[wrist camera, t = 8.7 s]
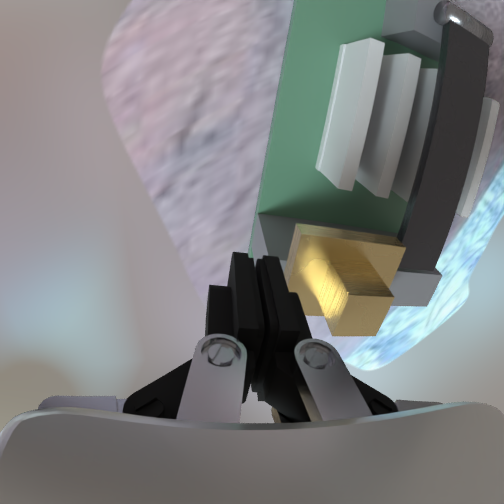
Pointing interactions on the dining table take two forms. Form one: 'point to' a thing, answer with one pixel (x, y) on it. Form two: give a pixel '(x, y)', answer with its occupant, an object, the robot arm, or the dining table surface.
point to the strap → (446, 136)
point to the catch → (343, 276)
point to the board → (356, 127)
